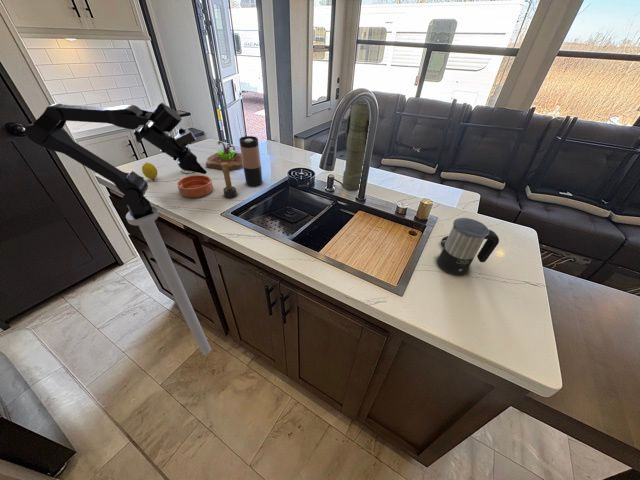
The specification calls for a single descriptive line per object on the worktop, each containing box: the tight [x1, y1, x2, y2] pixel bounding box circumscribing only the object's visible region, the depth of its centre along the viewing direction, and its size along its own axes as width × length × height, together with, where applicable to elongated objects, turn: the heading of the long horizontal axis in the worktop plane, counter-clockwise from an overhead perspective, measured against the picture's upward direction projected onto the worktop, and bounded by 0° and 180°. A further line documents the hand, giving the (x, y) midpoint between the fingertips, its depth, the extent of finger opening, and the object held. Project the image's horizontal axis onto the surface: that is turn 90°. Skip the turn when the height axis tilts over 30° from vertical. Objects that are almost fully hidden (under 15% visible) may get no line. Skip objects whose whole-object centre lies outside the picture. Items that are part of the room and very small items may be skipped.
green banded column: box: [342, 101, 370, 192], centre depth 108 cm, size 9×12×35 cm
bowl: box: [176, 174, 214, 199], centre depth 108 cm, size 13×13×4 cm
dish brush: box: [221, 162, 238, 199], centre depth 103 cm, size 5×5×14 cm
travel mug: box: [238, 135, 263, 188], centre depth 111 cm, size 8×8×20 cm
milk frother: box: [436, 217, 500, 276], centre depth 78 cm, size 14×16×15 cm
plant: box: [205, 140, 244, 171], centre depth 131 cm, size 20×20×11 cm
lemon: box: [141, 161, 158, 181], centre depth 113 cm, size 6×6×8 cm
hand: (202, 169), depth 96 cm, fingers open, 9 cm apart
